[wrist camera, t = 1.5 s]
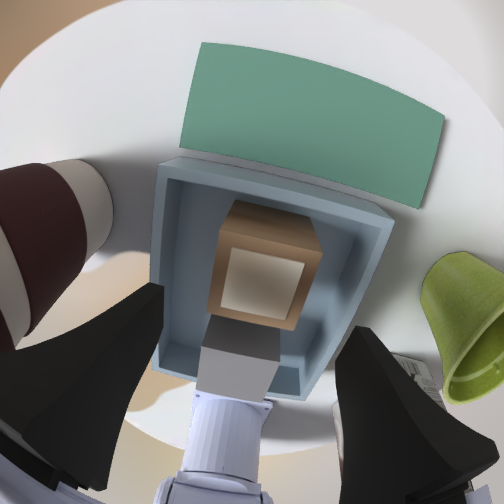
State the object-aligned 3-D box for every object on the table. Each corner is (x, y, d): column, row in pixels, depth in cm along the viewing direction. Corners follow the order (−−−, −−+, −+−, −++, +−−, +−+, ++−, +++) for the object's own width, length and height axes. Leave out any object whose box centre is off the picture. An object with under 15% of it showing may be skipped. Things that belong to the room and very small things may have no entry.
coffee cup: (123, 127, 15) (-108, 192, 1) (143, 266, 19) (23, 441, 6) (29, 154, 16) (-120, 221, 2) (52, 263, 20) (-56, 373, 6)
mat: (413, 205, 16) (418, 209, 15) (183, 146, 15) (179, 147, 15) (438, 115, 13) (444, 115, 12) (204, 45, 13) (201, 42, 12)
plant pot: (377, 300, 19) (418, 390, 11) (457, 204, 15) (538, 258, 7) (435, 342, 21) (470, 412, 13) (500, 268, 17) (555, 324, 9)
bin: (302, 369, 23) (304, 400, 19) (164, 340, 22) (151, 369, 19) (373, 202, 16) (395, 220, 13) (180, 156, 16) (158, 164, 12)
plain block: (264, 352, 21) (261, 403, 17) (209, 341, 21) (195, 389, 17) (279, 309, 19) (280, 362, 15) (216, 296, 19) (201, 346, 15)
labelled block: (289, 280, 18) (293, 331, 14) (222, 265, 18) (205, 313, 13) (309, 216, 16) (323, 254, 12) (235, 199, 16) (219, 230, 12)
